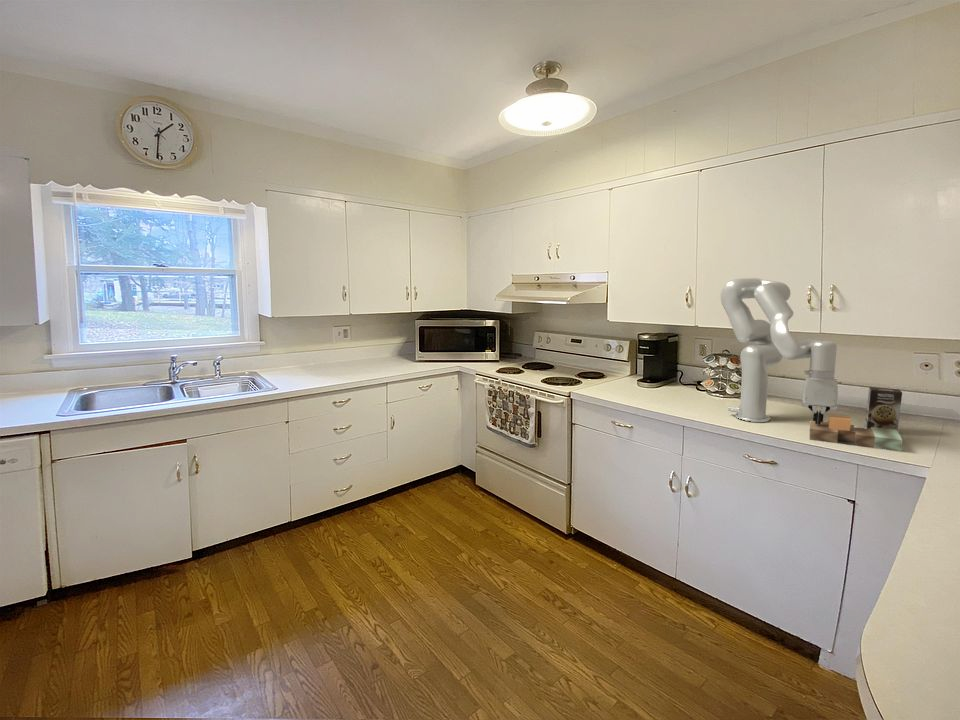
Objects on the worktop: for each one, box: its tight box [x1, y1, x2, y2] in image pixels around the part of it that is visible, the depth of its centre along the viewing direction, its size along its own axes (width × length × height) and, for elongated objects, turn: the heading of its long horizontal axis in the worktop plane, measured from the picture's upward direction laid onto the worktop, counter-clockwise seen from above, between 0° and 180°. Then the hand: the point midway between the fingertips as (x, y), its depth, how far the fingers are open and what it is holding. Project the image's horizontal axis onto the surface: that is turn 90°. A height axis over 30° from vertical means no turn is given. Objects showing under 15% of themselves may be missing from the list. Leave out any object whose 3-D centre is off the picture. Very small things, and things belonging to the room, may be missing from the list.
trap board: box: [809, 419, 903, 452], centre depth 168 cm, size 25×13×4 cm, turn 55°
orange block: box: [828, 414, 852, 431], centre depth 169 cm, size 6×5×4 cm
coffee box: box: [864, 386, 903, 431], centre depth 176 cm, size 9×6×16 cm
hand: (817, 423), depth 173 cm, fingers closed
